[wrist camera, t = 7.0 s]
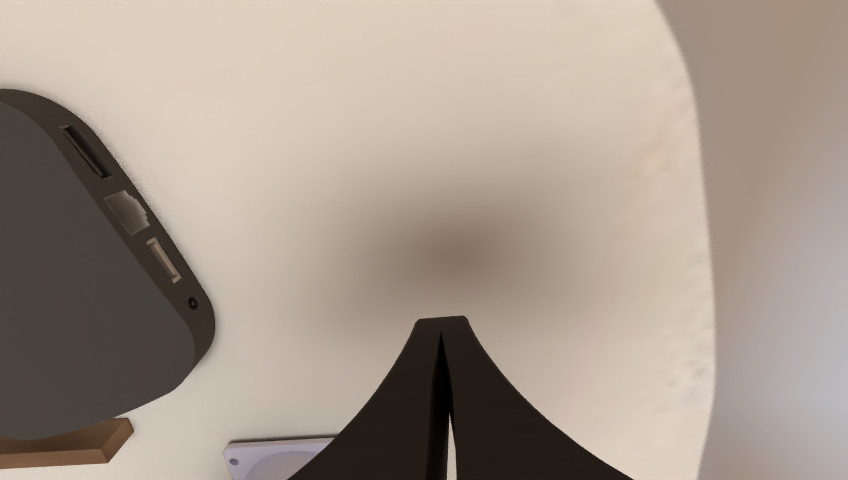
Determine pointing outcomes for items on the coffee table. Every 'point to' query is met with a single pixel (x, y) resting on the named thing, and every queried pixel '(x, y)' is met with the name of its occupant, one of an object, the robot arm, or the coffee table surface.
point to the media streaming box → (83, 281)
